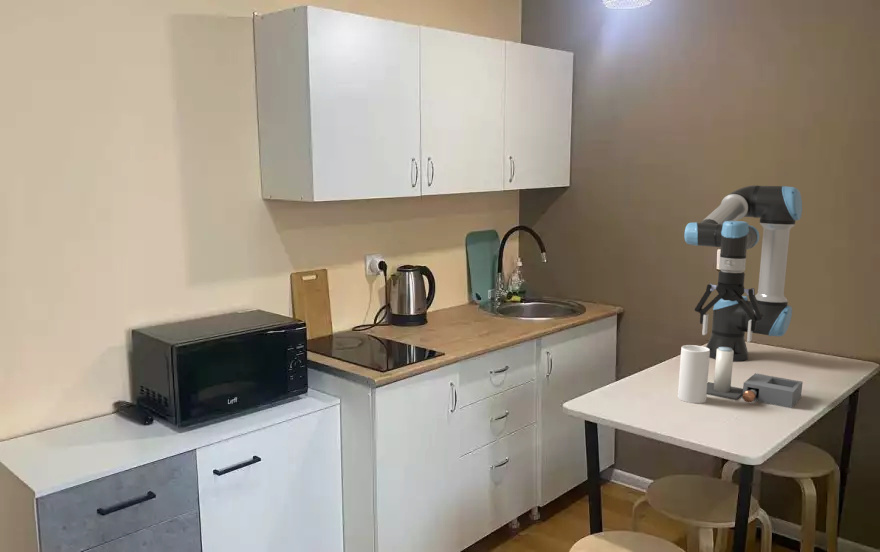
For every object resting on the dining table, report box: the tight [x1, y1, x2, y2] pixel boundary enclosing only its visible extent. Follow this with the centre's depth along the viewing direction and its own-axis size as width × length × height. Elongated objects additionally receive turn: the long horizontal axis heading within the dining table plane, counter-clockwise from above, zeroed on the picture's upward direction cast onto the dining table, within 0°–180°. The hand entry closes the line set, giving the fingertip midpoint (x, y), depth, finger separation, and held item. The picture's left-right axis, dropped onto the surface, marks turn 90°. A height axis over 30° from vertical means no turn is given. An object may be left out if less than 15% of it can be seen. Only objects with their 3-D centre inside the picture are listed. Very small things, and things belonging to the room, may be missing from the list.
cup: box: [677, 344, 710, 404], centre depth 220 cm, size 8×8×16 cm
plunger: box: [741, 388, 759, 403], centre depth 221 cm, size 10×3×3 cm, turn 143°
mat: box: [706, 381, 743, 401], centre depth 230 cm, size 12×12×1 cm
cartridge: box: [713, 347, 734, 392], centre depth 229 cm, size 5×5×14 cm
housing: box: [741, 373, 804, 409], centre depth 224 cm, size 14×14×5 cm
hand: (726, 337), depth 227 cm, fingers open, 13 cm apart
